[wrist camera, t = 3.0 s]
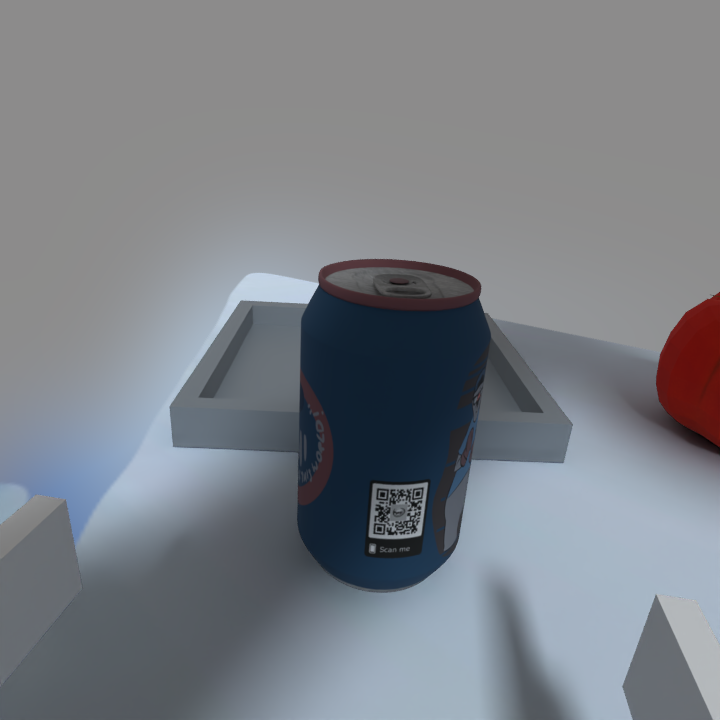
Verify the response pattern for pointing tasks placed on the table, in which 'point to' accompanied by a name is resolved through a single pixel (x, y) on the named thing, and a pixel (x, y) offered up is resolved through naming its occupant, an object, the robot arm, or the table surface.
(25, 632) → the robot arm
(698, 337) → the tomato
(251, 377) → the tray
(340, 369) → the soda can
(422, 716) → the table surface
